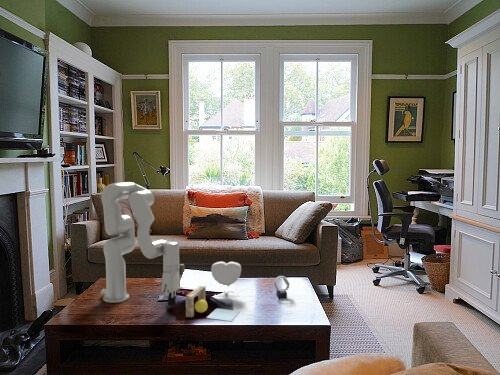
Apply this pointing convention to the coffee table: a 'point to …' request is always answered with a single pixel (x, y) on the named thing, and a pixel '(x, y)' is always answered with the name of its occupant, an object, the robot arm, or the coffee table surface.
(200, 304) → the ball
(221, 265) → the heart sculpture
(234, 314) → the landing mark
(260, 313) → the coffee table surface
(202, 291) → the bridge
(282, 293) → the watch
